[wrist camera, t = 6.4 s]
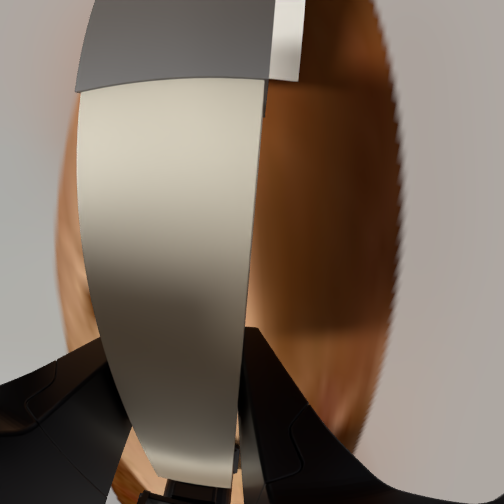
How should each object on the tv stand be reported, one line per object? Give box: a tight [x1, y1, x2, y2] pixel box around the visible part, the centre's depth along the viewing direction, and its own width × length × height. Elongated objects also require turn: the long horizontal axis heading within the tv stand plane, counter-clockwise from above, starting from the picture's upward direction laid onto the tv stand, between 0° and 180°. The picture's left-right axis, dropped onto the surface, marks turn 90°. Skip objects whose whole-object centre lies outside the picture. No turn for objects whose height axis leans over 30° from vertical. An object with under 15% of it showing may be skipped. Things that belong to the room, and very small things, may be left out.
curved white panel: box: [75, 0, 275, 488], centre depth 6 cm, size 14×3×4 cm, turn 175°
